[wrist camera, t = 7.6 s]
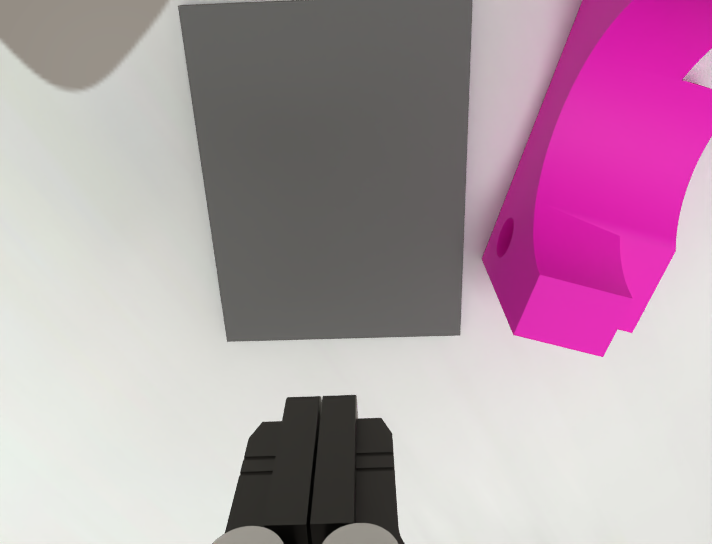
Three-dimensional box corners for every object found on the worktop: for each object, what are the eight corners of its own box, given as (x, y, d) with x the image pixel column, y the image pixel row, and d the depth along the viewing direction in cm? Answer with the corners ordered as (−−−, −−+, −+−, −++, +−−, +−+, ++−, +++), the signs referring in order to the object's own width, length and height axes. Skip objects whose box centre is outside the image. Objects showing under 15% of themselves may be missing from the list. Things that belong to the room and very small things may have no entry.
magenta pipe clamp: (597, 287, 32) (661, 371, 25) (481, 257, 31) (513, 335, 24) (752, -30, 25) (893, -35, 19) (610, -76, 25) (702, -97, 18)
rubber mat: (182, 5, 26) (177, 5, 26) (470, -7, 26) (472, -7, 25) (229, 335, 33) (227, 341, 32) (458, 329, 32) (460, 335, 32)
